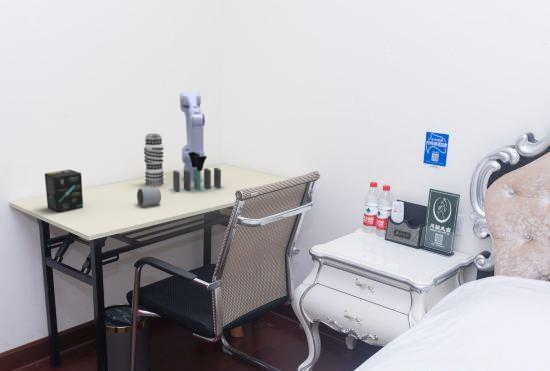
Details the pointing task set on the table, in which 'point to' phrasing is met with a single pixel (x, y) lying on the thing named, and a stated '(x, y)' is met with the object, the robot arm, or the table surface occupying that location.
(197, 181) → the teal domino
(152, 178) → the decorative candle
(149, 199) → the grey cylinder
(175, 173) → the black domino
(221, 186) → the sage board
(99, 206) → the table surface
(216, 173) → the black domino
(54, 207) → the tampon box
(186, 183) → the black domino
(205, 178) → the black domino
